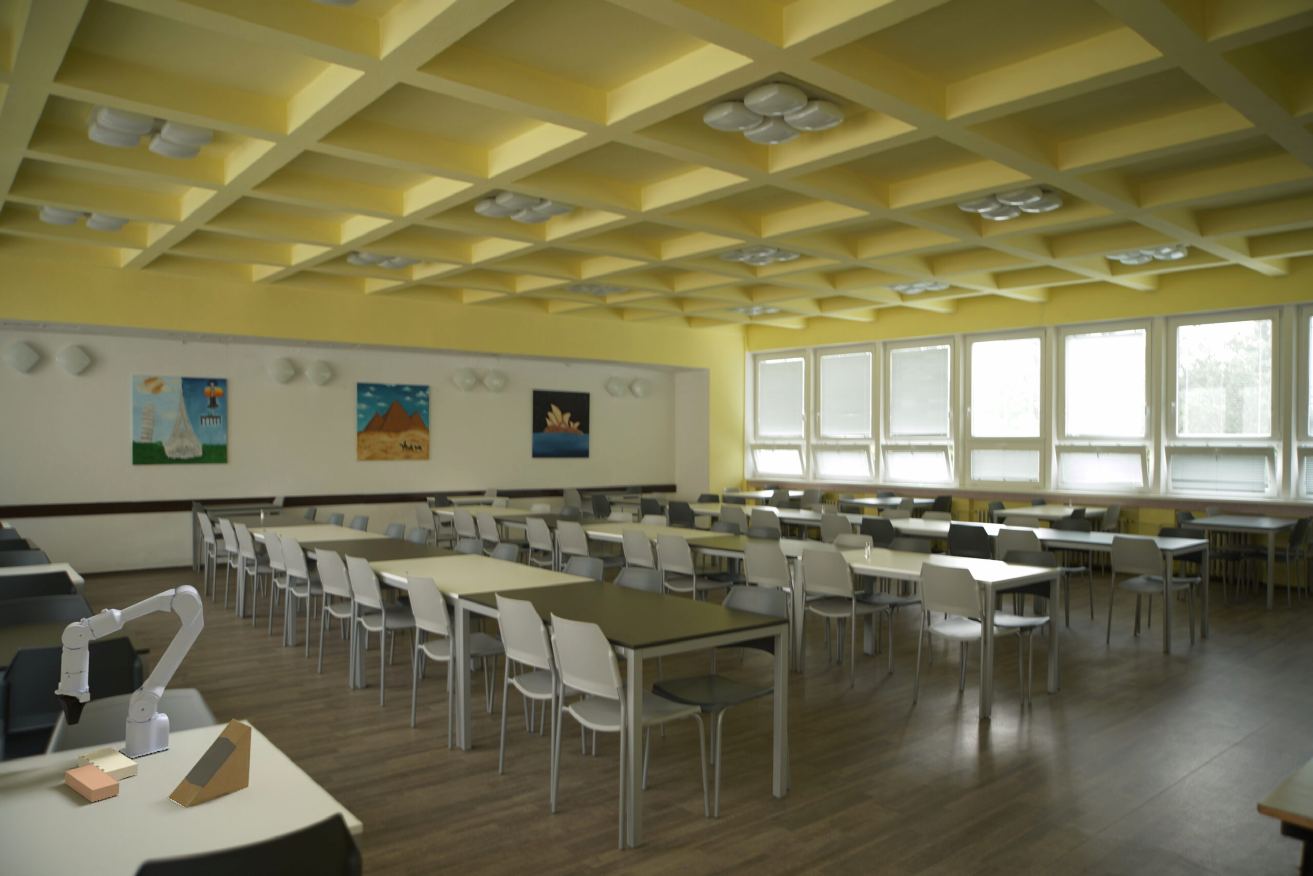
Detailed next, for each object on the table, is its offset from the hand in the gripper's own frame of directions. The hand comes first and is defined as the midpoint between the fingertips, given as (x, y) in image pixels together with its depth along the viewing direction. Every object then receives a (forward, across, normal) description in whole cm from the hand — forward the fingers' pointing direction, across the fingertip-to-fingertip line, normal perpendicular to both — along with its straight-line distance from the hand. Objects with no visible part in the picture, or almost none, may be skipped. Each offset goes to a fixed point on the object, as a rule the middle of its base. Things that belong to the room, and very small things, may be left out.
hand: (72, 724), depth 214 cm
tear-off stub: (+9, +22, -3) cm, 24 cm away
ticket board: (+9, +13, +3) cm, 16 cm away
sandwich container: (+10, +43, +14) cm, 46 cm away
